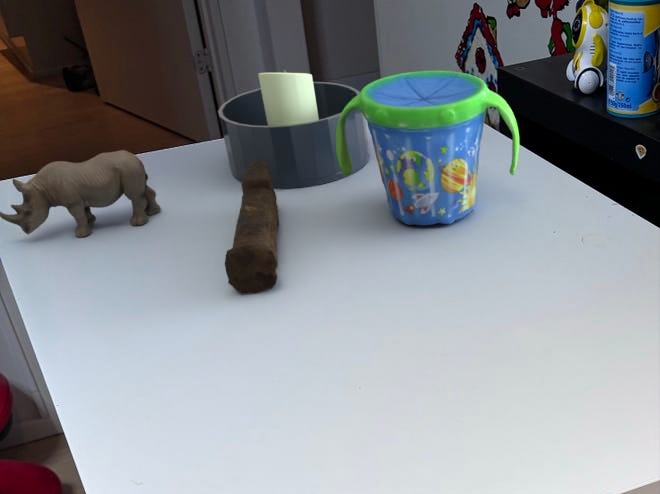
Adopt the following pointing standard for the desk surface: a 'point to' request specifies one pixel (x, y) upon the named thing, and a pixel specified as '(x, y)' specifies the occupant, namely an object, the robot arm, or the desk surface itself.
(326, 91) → the tin
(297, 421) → the desk surface
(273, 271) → the brown rough bar
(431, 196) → the snack cup
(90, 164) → the rhino figurine
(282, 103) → the candle
